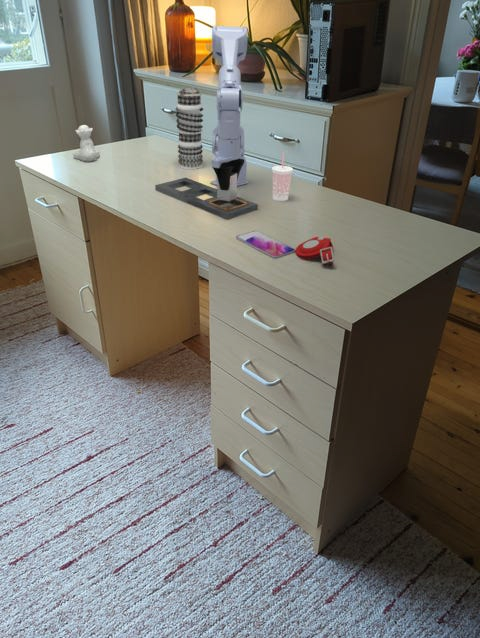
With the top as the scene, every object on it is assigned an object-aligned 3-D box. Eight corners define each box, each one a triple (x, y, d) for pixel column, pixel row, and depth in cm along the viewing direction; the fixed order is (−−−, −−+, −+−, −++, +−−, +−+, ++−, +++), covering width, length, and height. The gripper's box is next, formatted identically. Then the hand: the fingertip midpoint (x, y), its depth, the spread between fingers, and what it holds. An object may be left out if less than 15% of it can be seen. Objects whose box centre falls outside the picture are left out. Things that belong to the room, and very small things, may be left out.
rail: (185, 182, 166) (185, 176, 165) (257, 209, 147) (257, 203, 146) (155, 190, 159) (155, 184, 158) (227, 219, 140) (227, 213, 139)
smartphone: (256, 230, 134) (297, 249, 124) (256, 233, 134) (296, 253, 124) (234, 236, 130) (274, 257, 120) (234, 239, 130) (274, 260, 120)
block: (224, 195, 148) (224, 170, 144) (236, 197, 147) (237, 173, 143) (217, 199, 145) (217, 174, 141) (229, 201, 144) (230, 176, 140)
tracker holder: (286, 250, 122) (310, 229, 127) (290, 266, 125) (314, 245, 130) (328, 256, 114) (352, 233, 119) (332, 273, 116) (356, 250, 121)
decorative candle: (189, 160, 187) (187, 85, 174) (209, 165, 183) (208, 88, 169) (172, 166, 181) (168, 88, 167) (192, 171, 176) (190, 92, 163)
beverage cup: (294, 198, 156) (298, 151, 148) (281, 203, 152) (285, 155, 145) (278, 193, 159) (281, 147, 152) (266, 198, 156) (268, 150, 148)
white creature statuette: (99, 155, 190) (95, 121, 184) (104, 161, 183) (100, 126, 177) (73, 157, 187) (68, 122, 180) (77, 163, 180) (72, 128, 174)
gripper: (229, 130, 144) (228, 178, 151) (201, 140, 133) (202, 192, 140) (251, 133, 141) (249, 182, 148) (225, 144, 130) (224, 197, 137)
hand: (228, 187), depth 144 cm, fingers closed on block, 4 cm apart
